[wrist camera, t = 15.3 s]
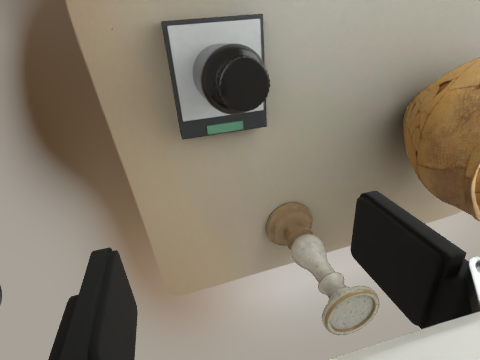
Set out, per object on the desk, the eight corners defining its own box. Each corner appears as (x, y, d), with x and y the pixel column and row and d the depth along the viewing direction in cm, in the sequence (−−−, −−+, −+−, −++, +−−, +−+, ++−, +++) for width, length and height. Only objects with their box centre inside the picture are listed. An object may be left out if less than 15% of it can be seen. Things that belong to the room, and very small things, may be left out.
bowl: (412, 17, 43) (589, 3, 25) (484, 80, 51) (656, 102, 33) (336, 143, 49) (436, 201, 31) (411, 181, 57) (524, 244, 39)
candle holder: (307, 195, 52) (385, 277, 34) (312, 233, 56) (384, 323, 38) (261, 211, 51) (317, 304, 33) (270, 248, 55) (324, 348, 37)
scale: (180, 134, 41) (182, 140, 39) (161, 22, 35) (161, 21, 32) (261, 122, 44) (267, 127, 41) (256, 15, 37) (263, 13, 35)
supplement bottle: (251, 90, 38) (287, 110, 28) (203, 108, 38) (221, 135, 27) (236, 34, 35) (271, 33, 24) (183, 53, 34) (195, 60, 24)
